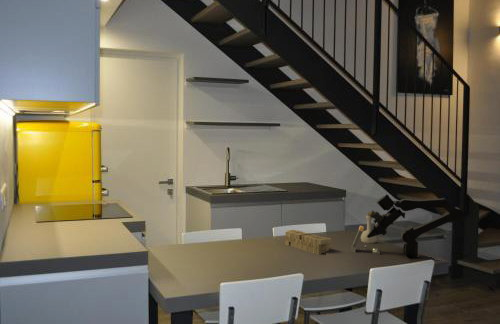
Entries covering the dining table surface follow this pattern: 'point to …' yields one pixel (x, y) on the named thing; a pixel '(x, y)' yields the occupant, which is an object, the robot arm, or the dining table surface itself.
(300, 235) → the block tower
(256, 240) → the dining table surface
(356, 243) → the orange plate
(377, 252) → the switch panel
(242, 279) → the dining table surface
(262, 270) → the dining table surface
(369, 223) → the potion bottle
